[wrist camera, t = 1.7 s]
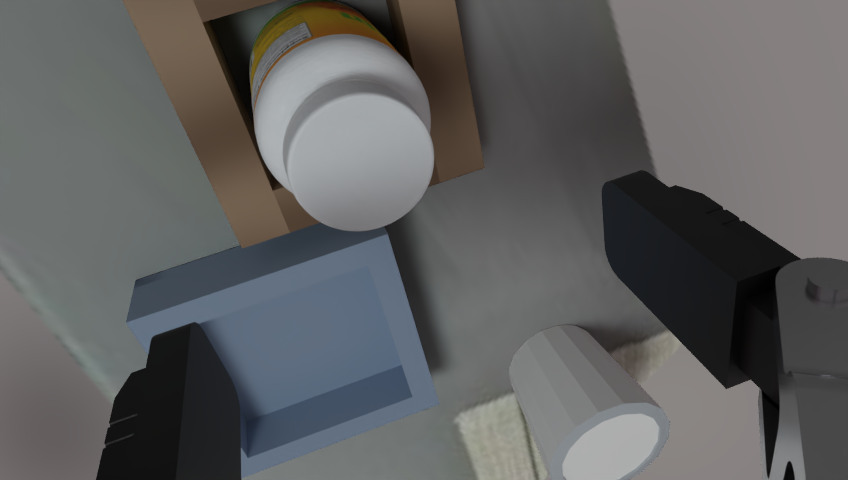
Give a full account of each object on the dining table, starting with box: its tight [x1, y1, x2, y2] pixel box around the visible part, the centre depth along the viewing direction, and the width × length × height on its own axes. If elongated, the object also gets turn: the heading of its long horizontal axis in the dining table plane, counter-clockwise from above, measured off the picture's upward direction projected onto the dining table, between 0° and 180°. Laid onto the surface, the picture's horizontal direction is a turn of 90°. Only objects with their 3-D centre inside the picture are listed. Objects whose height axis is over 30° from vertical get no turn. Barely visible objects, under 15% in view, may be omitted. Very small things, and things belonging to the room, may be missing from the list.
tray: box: [126, 223, 439, 478], centre depth 29 cm, size 11×11×3 cm
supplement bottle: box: [249, 0, 434, 231], centre depth 20 cm, size 5×5×10 cm
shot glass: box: [509, 325, 670, 480], centre depth 34 cm, size 7×7×7 cm
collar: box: [123, 0, 485, 248], centre depth 23 cm, size 10×10×2 cm
